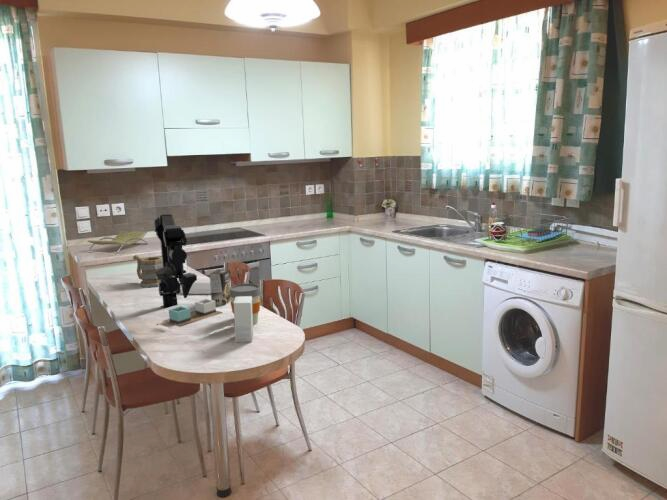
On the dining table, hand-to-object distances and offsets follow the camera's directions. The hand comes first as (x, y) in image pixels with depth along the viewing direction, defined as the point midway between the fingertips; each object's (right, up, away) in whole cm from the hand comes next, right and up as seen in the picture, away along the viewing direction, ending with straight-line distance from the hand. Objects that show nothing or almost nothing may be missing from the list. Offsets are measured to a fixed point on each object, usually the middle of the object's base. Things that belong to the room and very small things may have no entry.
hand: (178, 296), depth 215 cm
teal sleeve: (0, -10, +2) cm, 10 cm away
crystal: (-2, -3, +49) cm, 49 cm away
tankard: (-36, +1, +68) cm, 77 cm away
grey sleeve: (+8, -8, +12) cm, 16 cm away
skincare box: (+30, -15, -16) cm, 37 cm away
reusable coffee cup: (+27, -11, +2) cm, 30 cm away
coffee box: (+12, -7, +26) cm, 30 cm away
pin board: (+4, -11, +7) cm, 13 cm away
